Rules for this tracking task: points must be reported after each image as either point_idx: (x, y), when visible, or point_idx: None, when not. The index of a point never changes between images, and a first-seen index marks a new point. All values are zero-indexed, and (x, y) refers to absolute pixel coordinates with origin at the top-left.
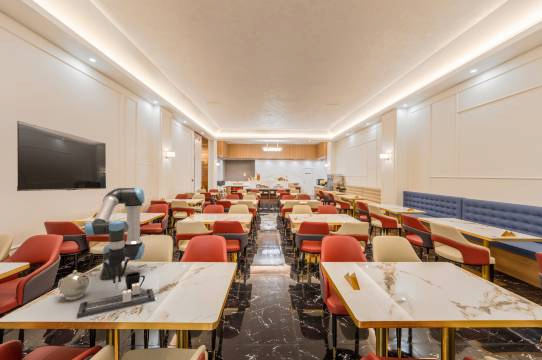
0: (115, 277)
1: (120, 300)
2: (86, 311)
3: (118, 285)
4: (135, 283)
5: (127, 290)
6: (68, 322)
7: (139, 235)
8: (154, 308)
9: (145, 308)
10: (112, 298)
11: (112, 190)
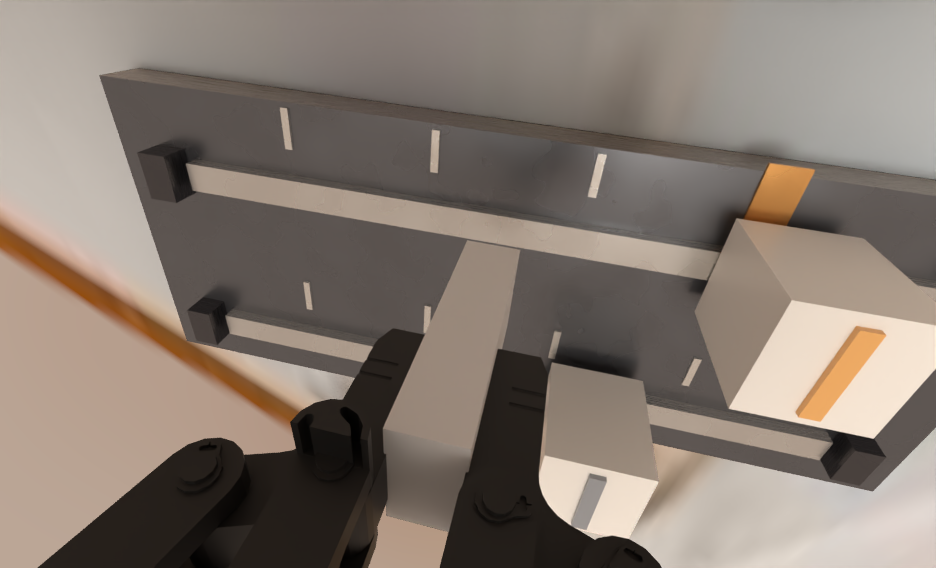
0: (384, 506)
1: (534, 324)
2: (244, 340)
3: (515, 267)
4: (862, 337)
5: (599, 495)
6: (176, 339)
7: None
8: (748, 545)
9: (693, 505)
10: (452, 234)
11: None
